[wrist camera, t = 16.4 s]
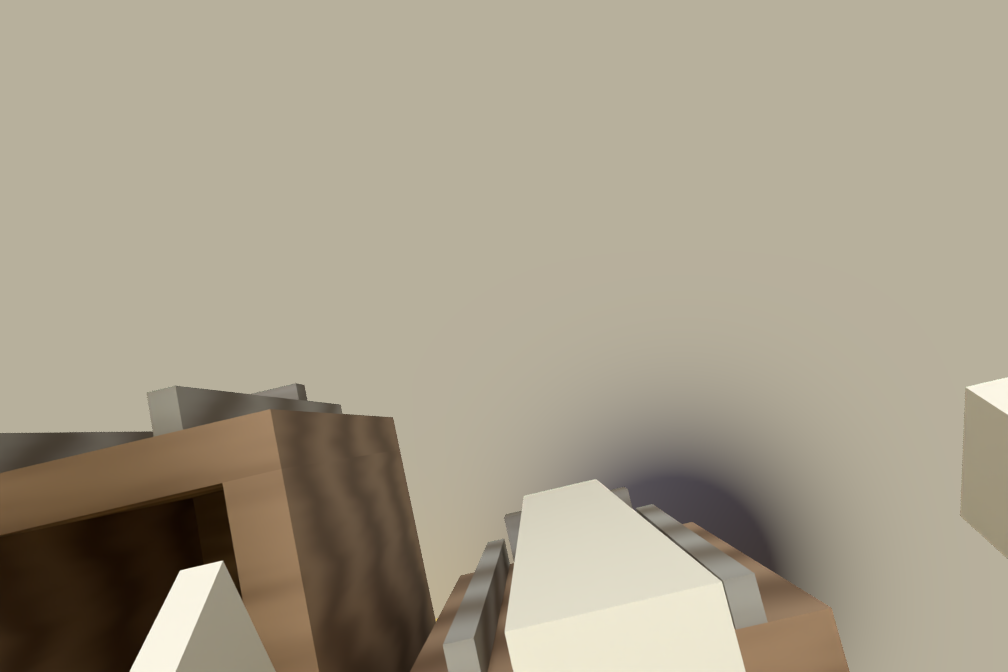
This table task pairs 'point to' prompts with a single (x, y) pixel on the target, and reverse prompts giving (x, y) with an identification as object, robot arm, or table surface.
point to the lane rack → (290, 546)
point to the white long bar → (610, 592)
